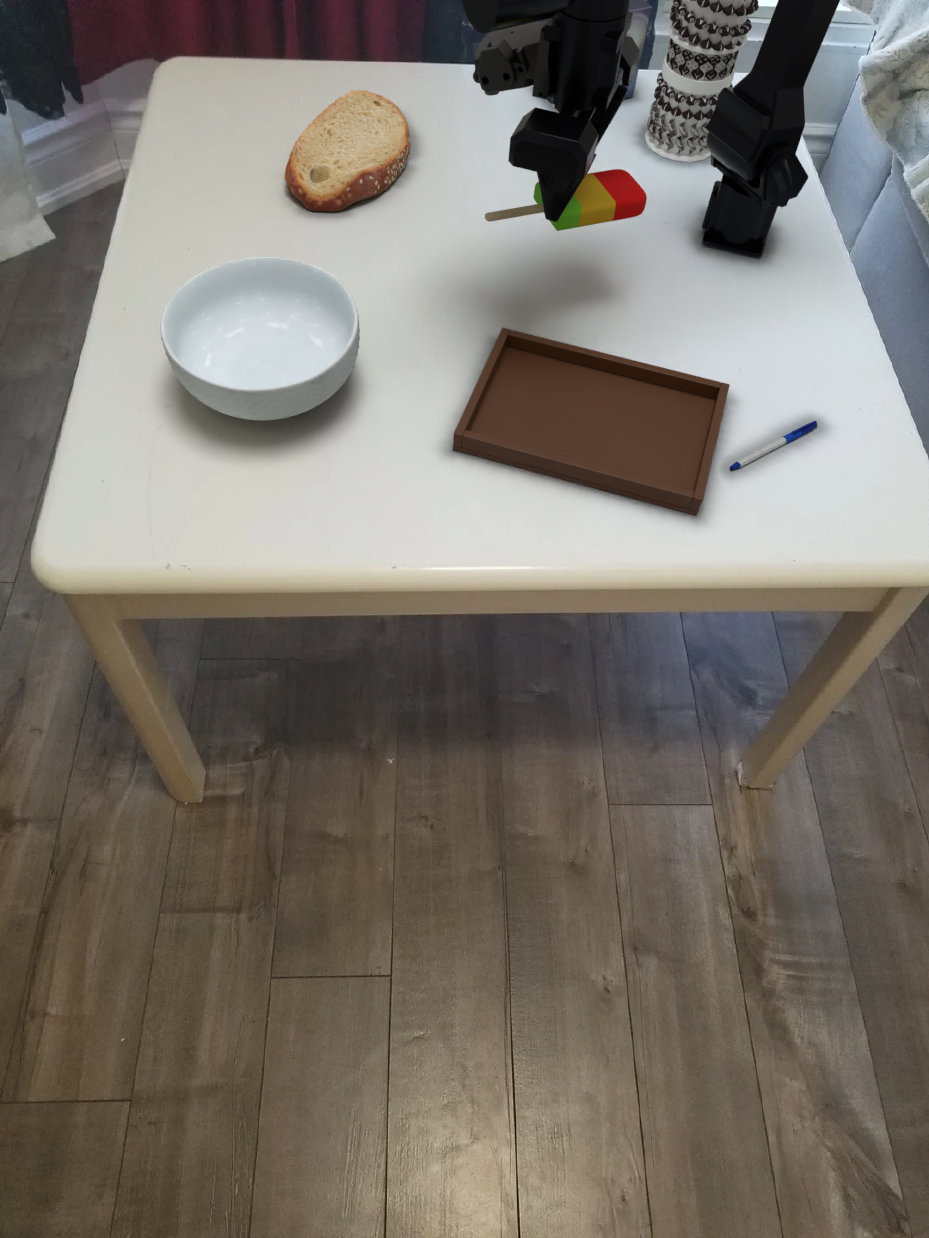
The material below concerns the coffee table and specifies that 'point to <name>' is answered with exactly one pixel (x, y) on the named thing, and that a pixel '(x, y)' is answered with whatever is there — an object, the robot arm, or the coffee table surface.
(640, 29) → the small box
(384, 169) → the bread slice
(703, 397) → the tray
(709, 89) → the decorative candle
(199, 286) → the cereal bowl
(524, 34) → the robot arm
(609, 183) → the popsicle
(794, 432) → the ballpoint pen
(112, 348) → the coffee table surface
